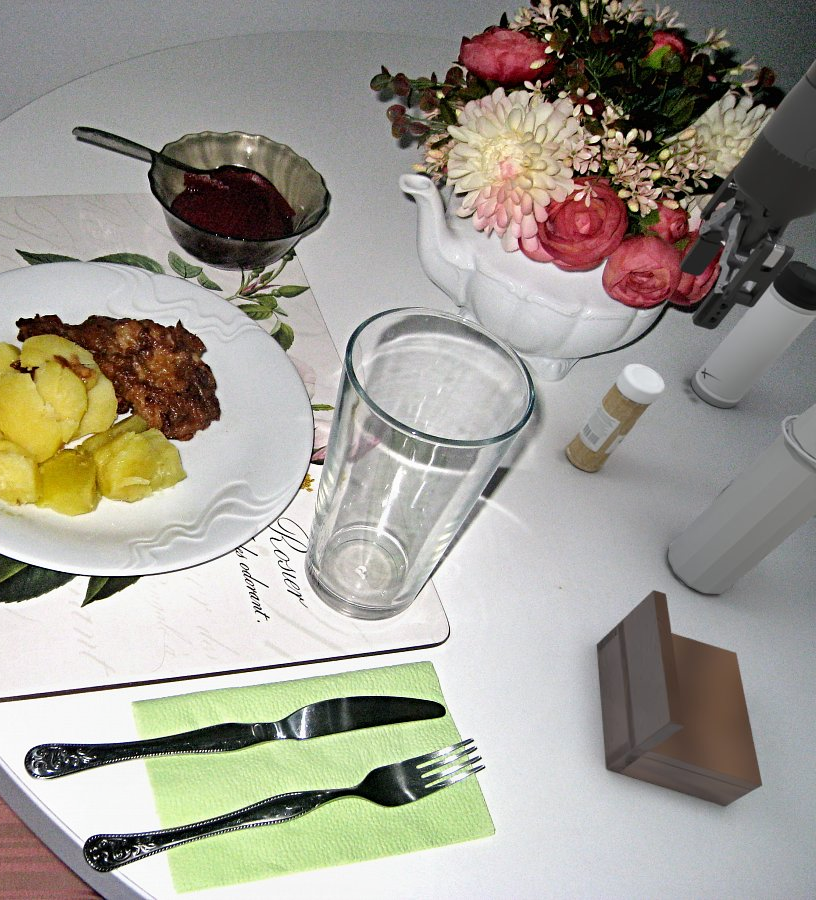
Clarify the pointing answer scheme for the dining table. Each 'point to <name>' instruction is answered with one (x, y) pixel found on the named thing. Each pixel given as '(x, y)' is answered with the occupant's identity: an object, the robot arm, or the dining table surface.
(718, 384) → the travel mug
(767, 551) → the water bottle
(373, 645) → the dining table surface
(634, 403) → the sprinkles bottle
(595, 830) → the dining table surface
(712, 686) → the shelf
